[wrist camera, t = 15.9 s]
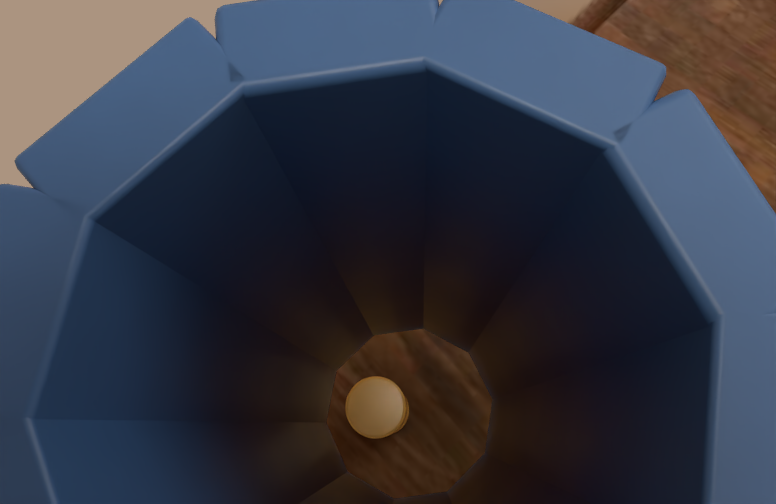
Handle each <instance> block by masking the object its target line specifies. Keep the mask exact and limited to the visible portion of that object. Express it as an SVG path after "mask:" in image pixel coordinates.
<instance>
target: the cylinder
mask: <svg viewBox="0 0 776 504" xmlns="http://www.w3.org/2000/svg"><path fill="white" fill-rule="evenodd" d="M345 410H346V416H347V419H348V421H349V423H350V425H351V426H352V428H353V429H354V430H355V431H356V432H358V433H359V434H361V435H362V436H365V437H368V438H373V439H378V438H383V437H386V436H389V435H392V434H394V433H396V432H398V431H399V430H401V429H402V428H403V427H404V425H405V424H406V422H407V420H408V417H409V404H408V401H407V399H406V397H405V396H404V394H403V392H402V391H401V389H400V388H399V387H398V386H397V385H396V384H395V383H394V382H393V381H391V380H389V379H387V378H384V377H380V376H372V377H367V378H365V379H362V380H361V381H359V382H358V383H356V384H355V385H354V386H353V388H352V389H351V390H350V392H349V394H348V396H347V400H346V405H345Z"/></svg>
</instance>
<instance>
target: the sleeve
mask: <svg viewBox="0 0 776 504" xmlns="http://www.w3.org/2000/svg"><path fill="white" fill-rule="evenodd" d="M215 28H216V39H215V38H214V37H213V36H212V35H211V34H210V33H209V32H208V31H207V30H206V29H205V28H204V27H203V26H202V25H201V24H200V23H199V22H198V21H196V20H195V19H193V18H191V17H189V18H187V19H185V20H184V21H183V22H181V23H180V24H179V25H177V26H176V27H175V28H174V29H173V30H171V31H170V32H169V33H168V34H166V35H165V36H164V37H163V38H162V39H160V40H159V41H158V42H157V43H156V44H154V45H153V46H152V47H151V48H149V49H148V50H147V51H146V52H145V53H143V54H142V55H141V56H140V57H138V58H137V59H136V60H135V61H133V62H132V63H131V64H130V65H129V66H127V67H126V68H125V69H124V70H122V71H121V72H120V73H119V74H118V75H116V76H115V77H114V78H113V79H111V80H110V81H109V82H108V83H107V84H105V85H104V86H103V87H102V88H100V89H99V90H98V91H97V92H95V93H94V94H93V95H92V96H91V97H89V98H88V99H87V100H86V101H84V102H83V103H82V104H81V105H80V106H78V107H77V108H76V109H75V110H73V111H72V112H71V113H70V114H69V115H67V116H66V117H65V118H64V119H62V120H61V121H60V122H59V123H58V124H57V125H55V126H54V127H53V128H52V129H50V130H49V131H48V132H47V133H45V134H44V135H43V136H42V137H40V138H39V139H38V140H37V141H36V142H34V143H33V144H32V145H31V146H30V147H28V148H27V149H26V150H25V151H23V152H22V153H21V154H20V155H18V156H17V158H16V160H15V163H16V166H17V169H18V170H19V171H20V172H21V173H22V175H23V176H24V177H25V178H26V179H27V181H28V182H29V183H30V184H31V185H32V186H33V188H29V187H23V186H17V185H10V184H1V185H0V504H776V214H775V212H774V211H773V209H772V208H771V206H770V205H769V203H768V202H767V200H766V199H765V197H764V196H763V195H762V193H761V192H760V190H759V189H758V187H757V186H756V184H755V183H754V181H753V180H752V178H751V177H750V175H749V174H748V172H747V171H746V169H745V168H744V166H743V165H742V163H741V162H740V160H739V159H738V158H737V156H736V155H735V153H734V152H733V150H732V149H731V147H730V146H729V144H728V143H727V141H726V140H725V138H724V137H723V135H722V134H721V132H720V131H719V129H718V128H717V126H716V125H715V123H714V122H713V121H712V119H711V118H710V116H709V115H708V113H707V112H706V110H705V109H704V107H703V106H702V104H701V103H700V101H699V100H698V98H697V97H696V95H695V94H694V93H693V92H691V91H690V90H688V89H685V90H679V91H675V92H673V93H670V94H668V95H666V96H664V97H662V98H660V99H658V100H656V101H654V100H655V97H656V95H657V93H658V91H659V89H660V87H661V85H662V83H663V81H664V79H665V77H666V67H665V66H664V65H663V64H662V63H660V62H658V61H655V60H653V59H651V58H648V57H646V56H644V55H641V54H639V53H637V52H634V51H632V50H629V49H627V48H625V47H622V46H620V45H618V44H615V43H613V42H611V41H608V40H606V39H604V38H601V37H599V36H597V35H594V34H592V33H590V32H587V31H585V30H583V29H580V28H578V27H576V26H573V25H571V24H569V23H566V22H564V21H562V20H559V19H557V18H555V17H552V16H550V15H547V14H545V13H543V12H540V11H538V10H536V9H533V8H531V7H529V6H526V5H524V4H522V3H519V2H517V1H515V0H443V1H442V3H441V4H440V6H439V2H438V0H256V1H249V2H242V3H235V4H229V5H223V6H221V7H220V8H218V9H217V12H216V16H215ZM422 328H423V329H425V330H427V331H429V332H431V333H433V334H435V335H437V336H438V337H440V338H442V339H444V340H446V341H448V342H450V343H452V344H454V345H455V346H457V347H459V348H461V349H463V350H465V351H467V352H469V354H470V356H471V358H472V360H473V362H474V364H475V366H476V368H477V370H478V372H479V374H480V376H481V377H482V379H483V381H484V383H485V385H486V387H487V389H488V391H489V393H490V395H491V397H492V399H493V400H492V407H491V414H490V421H489V428H488V435H487V442H486V449H485V454H484V455H483V456H482V457H481V458H480V459H479V460H478V461H477V462H476V463H475V464H474V465H473V466H472V467H471V468H470V469H469V470H468V471H467V472H466V473H465V474H464V475H463V476H462V477H461V478H460V479H459V480H458V481H457V482H456V483H455V484H454V485H453V486H452V487H451V488H450V489H449V490H448V491H447V492H441V493H433V494H426V495H418V496H411V497H404V498H396V499H394V498H392V497H390V496H388V495H387V494H385V493H383V492H382V491H380V490H378V489H376V488H375V487H373V486H371V485H369V484H368V483H366V482H364V481H363V480H361V479H359V478H357V477H356V476H354V475H352V474H351V473H349V472H348V471H347V469H346V467H345V464H344V462H343V460H342V457H341V455H340V453H339V451H338V448H337V446H336V444H335V441H334V439H333V437H332V435H331V432H330V430H329V428H328V425H327V423H326V421H327V416H328V411H329V406H330V401H331V396H332V391H333V386H334V381H335V376H336V371H337V370H338V369H339V368H340V367H341V366H342V365H343V364H344V363H345V362H346V361H347V360H348V359H349V358H350V357H351V356H353V355H354V354H355V353H356V352H357V351H358V350H359V349H360V348H361V347H362V346H363V345H364V344H365V343H366V342H367V341H368V340H369V339H370V338H371V337H372V336H373V335H379V334H387V333H394V332H401V331H408V330H415V329H422Z"/></svg>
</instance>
